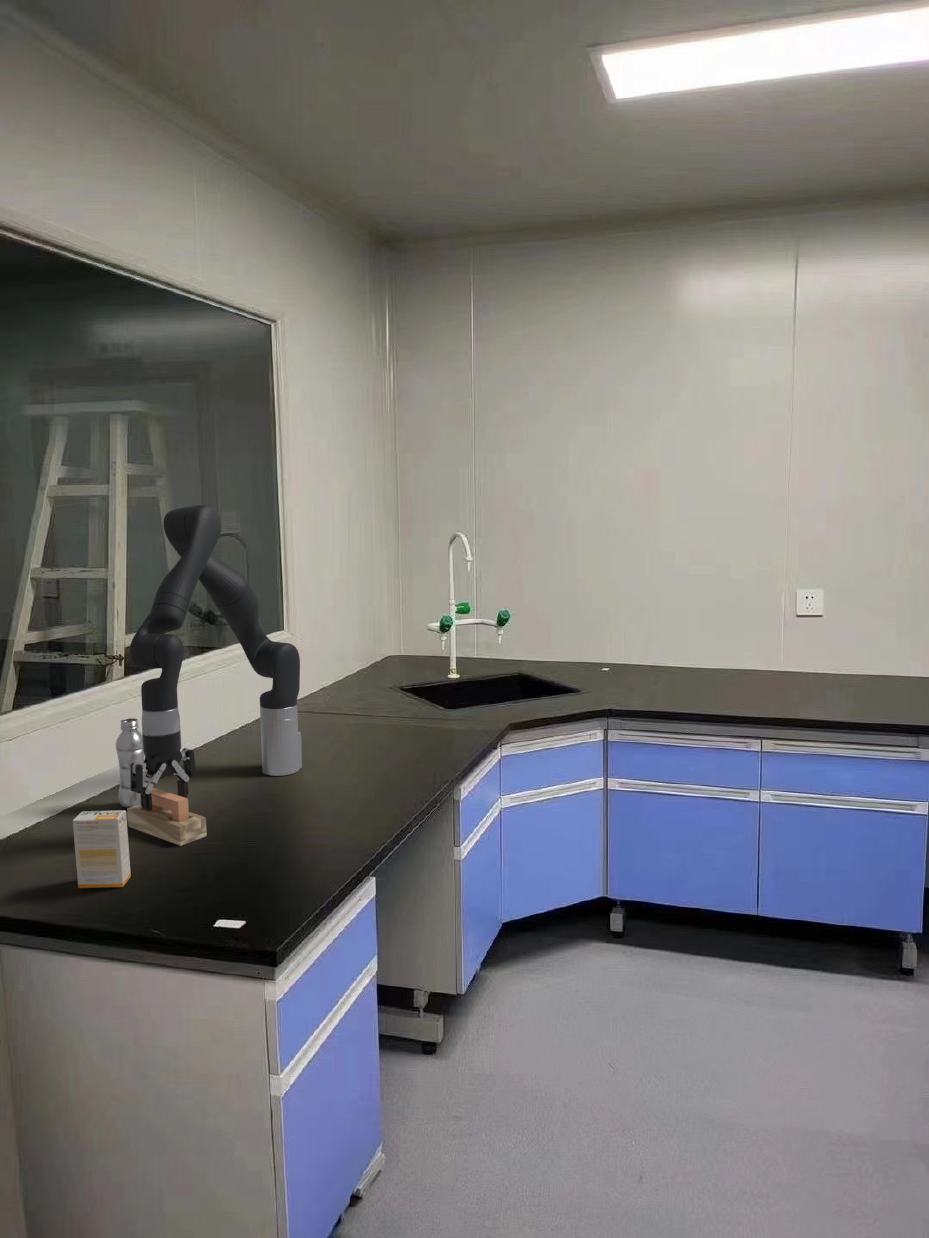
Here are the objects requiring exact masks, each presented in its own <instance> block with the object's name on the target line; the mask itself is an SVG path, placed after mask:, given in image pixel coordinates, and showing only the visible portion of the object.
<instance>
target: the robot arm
mask: <svg viewBox="0 0 929 1238" xmlns="http://www.w3.org/2000/svg"><path fill="white" fill-rule="evenodd" d="M162 522H163V531H164V533H165V537H166V538H167V539H168V540H167V541H168V542H169V543H170V545H171V547H173V549H174V550H175V552H176V553H177V554H178V555H179V556H180V559H179V560H178V561H177V563H176V564H175V565H174V566H173V567H172V569H171V570H170V571H169V572H167V574H166V575H165V577H164V578H163V579H162V581H161V583H160V585H158V588H157V591H156V594H155V596H154V599H153V601H152V602H153V603H152V606H151V609H150V612H149V613H148V615H147V617H146V618H145V619H144V621H143V623H142V624H141V625H140V627H138V630H137V631H136V633H135V634H134V635H133V637H132V639H131V640H130V641H131V642H130V644H129V658H130V661H131V662H132V664H133V665H134V666H136V667H138V668H143V669H161V673H160V675H159V677H155V678H150V679H147V680H145V681H143V682H142V684H141V685H140V686H141V688H140V689H141V691H140V693H141V695H140V696H141V712H142V713H141V734H142V737H143V751H144V754H145V755H144V762H142V763H132V764H131V766H130V772H131V791H133V792H136V793H139V794H140V796H141V807H142V808H143V809H144V810H146V811H151V810H152V793H150V792H151V790H152V788H154V786H155V785H157V784H158V781H159V780H161V779H165V778H166V777H172V776H175V778H177V795H178V796H181V797H184V798H188V795H189V781H190V779H191V778H192V777H196V775H197V771H196V770H197V769H196V759H195V751H194V750H193V749H189V748H186V747H184V748H183V749H182V736H181V735H182V731H181V719H180V718H181V717H180V716H181V715H180V712H179V706H178V705H179V700H178V683H179V679H180V673H181V668H182V664H183V661H184V656H185V655H184V654H185V647H184V643H183V641H182V640H181V638H180V636H178V635H175V634H172V633H170V634H169V632H174V631H178V630H180V629H181V628H182V627H183V626H184V623H185V620H186V616H187V614H188V610H189V606H190V603H191V600H192V597H193V594H194V590H195V588H196V586H197V583H198V582H200V584H201V585H202V586H203V588H204V589H205V590H206V592H207V594H208V595H209V597H210V599H211V600H212V602H213V604H214V605H215V607H216V608H217V610H218V611H219V613H220V614H221V616H222V618H224V620H225V621H226V623H227V624H228V626H229V628H230V629H231V631H232V632H233V634H234V636H235V637H236V638H237V640H238V642H239V643H240V646H241V647H242V650H243V652H244V654H245V657H246V659H247V660H248V663H249V664H250V666H251V668H252V669H253V671H254V672H255V673H256V674H257V675H259V676H261V677H263V678H267V679H272V686H271V689H270V690H268V691H265V692H262V693H261V694H260V696H259V717H260V739H261V740H260V741H261V743H260V744H261V745H260V746H261V767H262V769H261V770H262V772H261V773H263V774H264V775H268V776H275V777H277V776H278V777H279V776H288V775H293V774H295V773H298V771H299V770H300V769H302V768H303V757H302V755H303V753H302V752H303V750H302V732H301V731H299V724H298V723H299V722H298V721H299V720H298V716H299V715H298V696H299V693H300V688H301V684H300V682H301V677H300V676H301V675H300V674H301V659H300V653H299V650H298V648H297V647H296V646H295V645H294V644H293V643H289V642H282V641H281V642H280V641H272V639H270V638H269V637H268V636H267V635H266V633H265V631H264V630H263V628H262V626H261V625H260V622H259V617H260V615H259V614H260V602H259V599H258V597H257V595H256V593H255V591H254V590H253V588H252V586H251V585H250V583H249V582H248V580H247V579H246V577H245V576H244V575H243V574H242V573H240V572H239V571H238V570H236V569H235V568H233V567H232V566H230V565H229V564H227V563H226V562H224V561H222V560H221V559H219V558H218V557H216V556H215V555H214V554H213V551H214V549H215V547H216V546H217V543H218V540H219V538H220V535H221V531H222V522H221V518H220V515H219V513H218V511H217V510H216V509H215V508H214V507H213V506H211V505H208V504H198V505H197V504H195V505H191V506H190V505H189V506H185V507H180V508H175V509H171V510H169V511H168V512H167V513H166V514H165V515H164V518H163V521H162ZM181 749H182V750H181ZM181 761H182V765H183V768H182V766H181V765H180V763H181ZM145 770H146V771H145ZM144 772H145V774H144V776H143V773H144Z"/></svg>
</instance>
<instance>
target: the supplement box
mask: <svg viewBox="0 0 929 1238" xmlns="http://www.w3.org/2000/svg"><path fill="white" fill-rule="evenodd" d="M126 810H127V809H126ZM126 810H120V809H119V810H90V811H87V810H86V811H85V810H84V811H81V812H80V813H79V814H78V815H77V816H75V818H73V820H72V828H73V841H74V851H75V865H76V875H77V876H76V877H77V886H78V889H92V888H93V889H94V888H97V889H98V888H100V889H101V888H123V887H124V886H125V885H126V884H127V882H129V880H130V878H131V876H132V873H131V861H130V848H129V847H130V846H129V835H128V818H127V811H126Z"/></svg>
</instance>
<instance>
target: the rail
mask: <svg viewBox="0 0 929 1238" xmlns="http://www.w3.org/2000/svg"><path fill="white" fill-rule="evenodd" d="M126 810H127V811H126V815H127V828H128V827H129V828H131V829H134V830H136V831H140V832H142V833H144V834H147V835H150V836H153V837H155V838H159V839H162V840H164V841H166V842H170V843H172V844H175V845H178V846H180V847H182V846H183V845H187V844H189V843H192V842H194V841H197V840H200V839H203V838H205V837H207V818H206V816H202V815H200V814H196V813H194V812H191V811H189V819H187V820H184V821H181V822H175V821H172V811H171V810H168V809H165V808H162V807H160V809H159V810H156V811H153V812H150V813H149V812H146V811H144V809H143V808H142V807H141V804H140V805H136V806H133V807H130V808H126Z"/></svg>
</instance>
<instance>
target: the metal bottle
mask: <svg viewBox="0 0 929 1238" xmlns="http://www.w3.org/2000/svg"><path fill="white" fill-rule="evenodd" d="M120 730H121V732H120V734H119V735H118V737H117V739H116V740H115V749H116V754H117V760H118V766H119V775H120V776H119V788H118V801H119V804H120V805H121V806H122V807H123V808H126V809H127V808H130V807H133V806H136V805H140V804H141V796H140V794H139V793H136V792H133V791H131V772H130V766H131V764H132V763H142V762H144V760H145V754H144V751H143V737H142V732H140V731H139V722H138V718H134V717H133V718H132V717H131V718H130V717H129V718H124V719H122V720H120ZM145 772H146V771H145ZM145 772H144V773H143V776H144V774H145Z"/></svg>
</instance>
